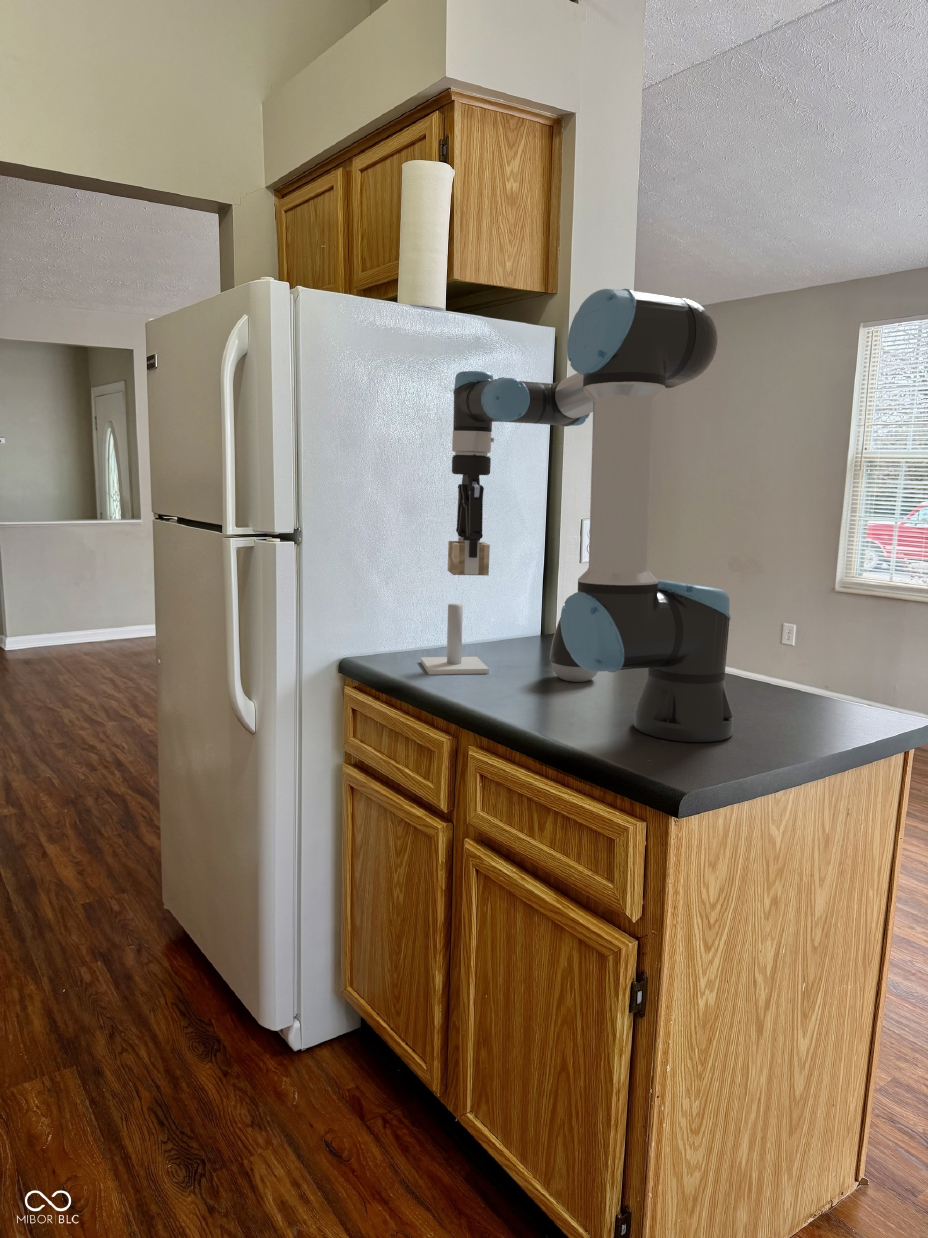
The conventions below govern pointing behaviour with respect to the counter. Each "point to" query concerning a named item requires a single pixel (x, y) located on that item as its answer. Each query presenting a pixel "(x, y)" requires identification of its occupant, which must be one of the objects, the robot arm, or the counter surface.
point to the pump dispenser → (566, 661)
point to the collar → (458, 558)
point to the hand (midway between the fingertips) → (467, 571)
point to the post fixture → (454, 650)
